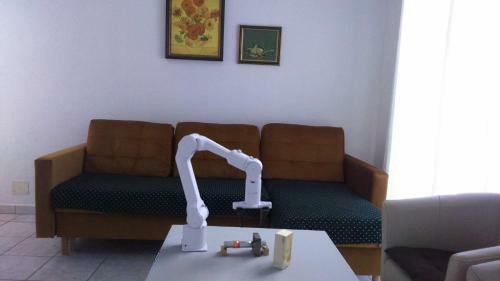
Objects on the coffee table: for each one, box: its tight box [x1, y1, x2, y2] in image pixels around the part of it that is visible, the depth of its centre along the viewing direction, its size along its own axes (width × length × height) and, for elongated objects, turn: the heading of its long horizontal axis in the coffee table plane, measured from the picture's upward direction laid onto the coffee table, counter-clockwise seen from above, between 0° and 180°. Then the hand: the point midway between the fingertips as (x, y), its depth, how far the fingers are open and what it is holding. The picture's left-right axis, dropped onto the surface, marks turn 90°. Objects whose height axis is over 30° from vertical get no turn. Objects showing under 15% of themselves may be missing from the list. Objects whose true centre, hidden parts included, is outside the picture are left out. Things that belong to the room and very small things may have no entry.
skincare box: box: [272, 228, 294, 270], centre depth 125 cm, size 6×4×12 cm
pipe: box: [220, 240, 270, 257], centre depth 133 cm, size 18×4×5 cm, turn 100°
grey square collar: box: [251, 232, 262, 257], centre depth 133 cm, size 2×6×7 cm, turn 10°
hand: (251, 226), depth 132 cm, fingers open, 7 cm apart
